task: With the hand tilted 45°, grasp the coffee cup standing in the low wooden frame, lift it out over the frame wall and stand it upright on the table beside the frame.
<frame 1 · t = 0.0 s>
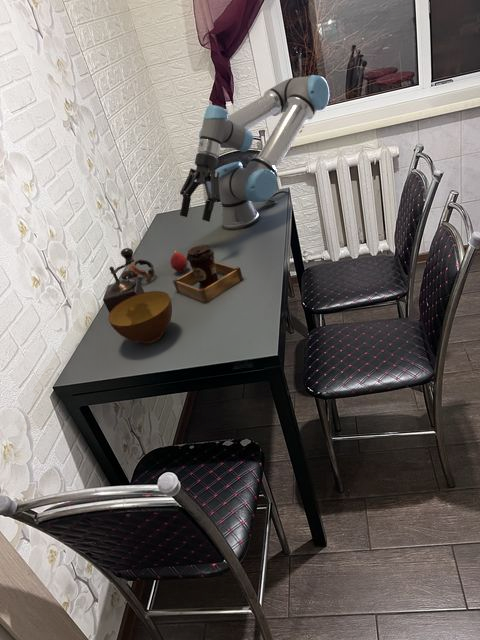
hand: (194, 218, 163), 15 cm above the table, tool tilted 35°, fingers open, 13 cm apart
wooden frame: (209, 285, 153), on the table
coffee cup: (209, 286, 153), resting in wooden frame
bowl: (152, 337, 135), on the table
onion: (182, 272, 167), on the table
manual coffee grinder: (134, 309, 152), on the table
pottery mug: (140, 282, 168), on the table
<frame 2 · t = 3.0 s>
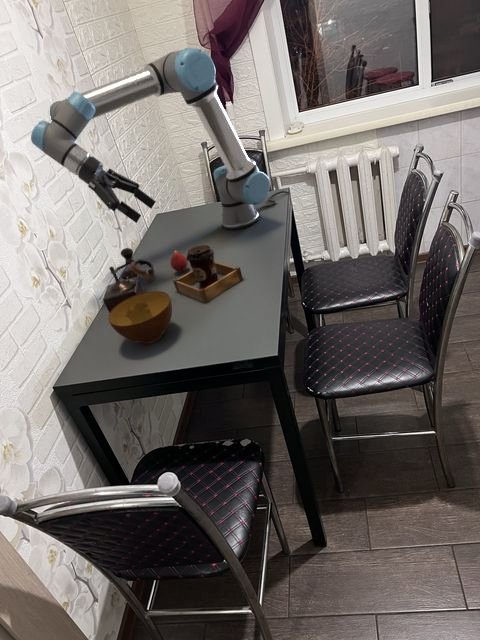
hand: (146, 211, 143), 27 cm above the table, tool tilted 40°, fingers open, 13 cm apart
nothing on the table moved.
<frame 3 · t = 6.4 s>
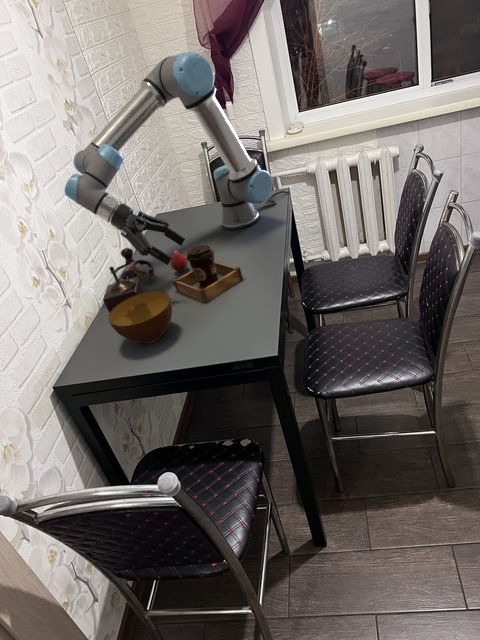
hand: (176, 251, 148), 13 cm above the table, tool tilted 45°, fingers open, 13 cm apart
nothing on the table moved.
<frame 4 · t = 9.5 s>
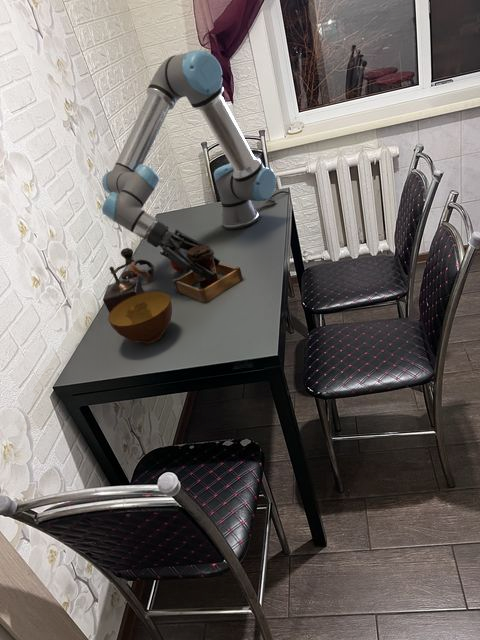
hand: (214, 270, 150), 5 cm above the table, tool tilted 45°, fingers closed on coffee cup, 8 cm apart
coffee cup: (209, 286, 153), resting in wooden frame, touching gripper
everything else where it was.
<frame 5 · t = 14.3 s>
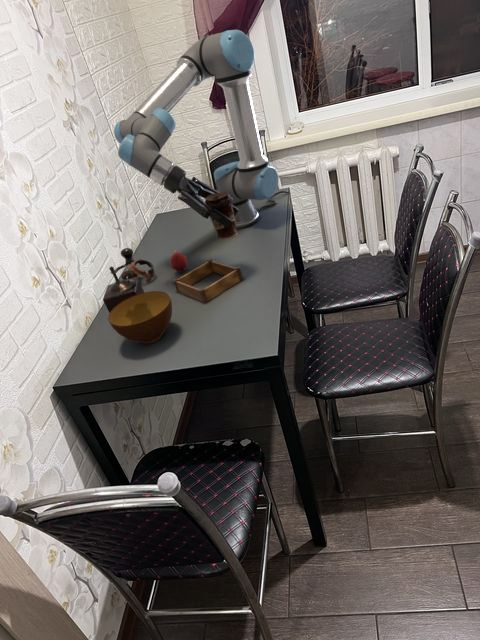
hand: (233, 218, 145), 18 cm above the table, tool tilted 45°, fingers closed on coffee cup, 8 cm apart
coffee cup: (227, 236, 149), point 13 cm above the table, touching gripper
everything else where it was.
when the fingers open (5 cm above the table, at t = 19.2 s): coffee cup stays where it is, on the table.
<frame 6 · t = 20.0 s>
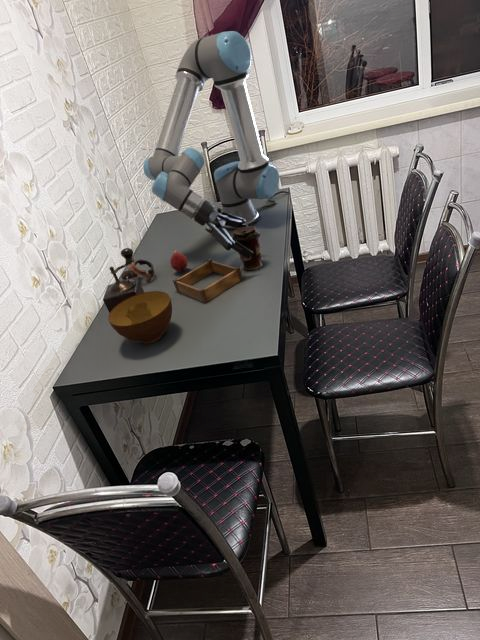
hand: (255, 246, 154), 7 cm above the table, tool tilted 45°, fingers open, 13 cm apart
coffee cup: (253, 266, 158), on the table
everything else where it was.
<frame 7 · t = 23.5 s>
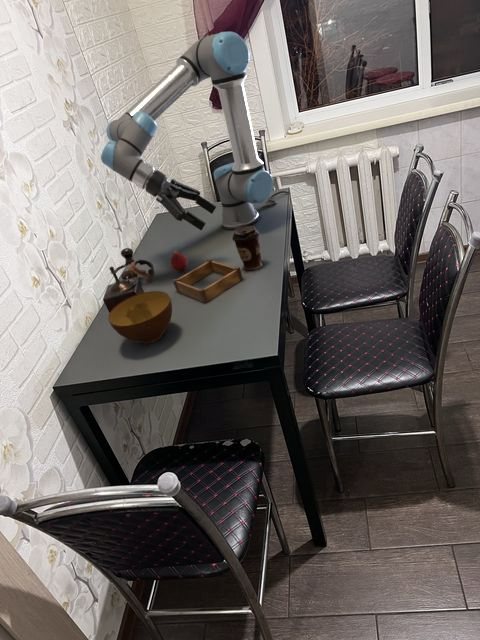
hand: (209, 218, 151), 18 cm above the table, tool tilted 45°, fingers open, 13 cm apart
nothing on the table moved.
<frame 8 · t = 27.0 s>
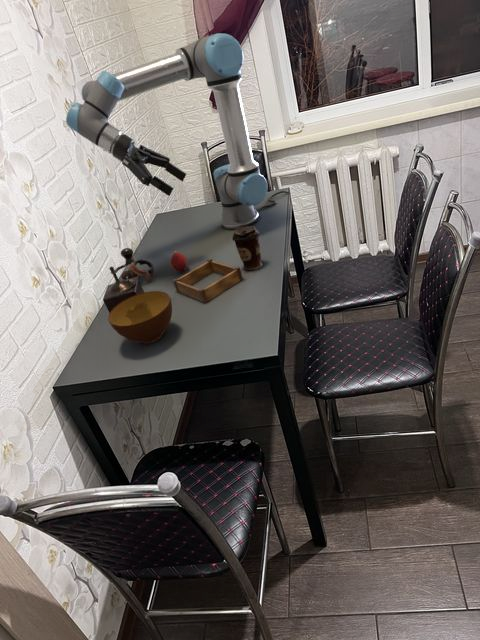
hand: (178, 184, 148), 30 cm above the table, tool tilted 45°, fingers open, 13 cm apart
nothing on the table moved.
at the end: coffee cup inside the target area (0.1 cm from its centre), on the table; coffee cup tilted 0°; the gripper is holding nothing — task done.
